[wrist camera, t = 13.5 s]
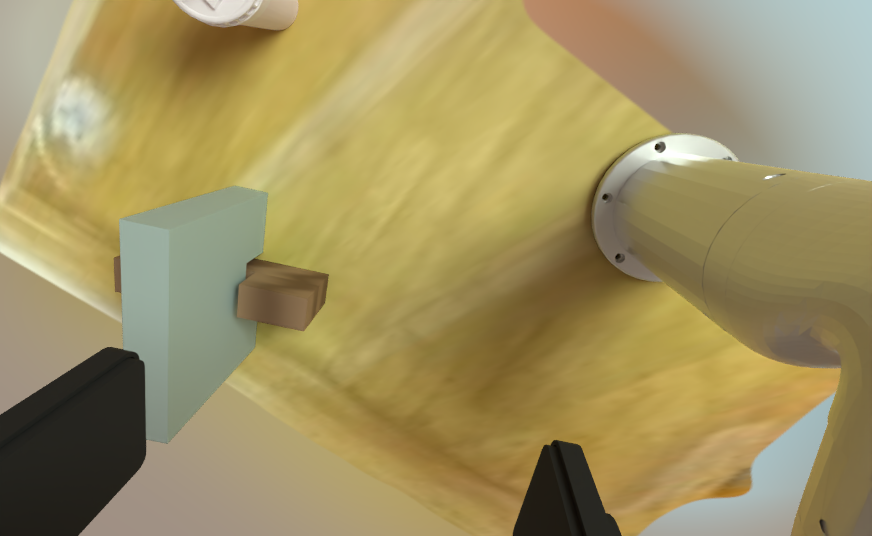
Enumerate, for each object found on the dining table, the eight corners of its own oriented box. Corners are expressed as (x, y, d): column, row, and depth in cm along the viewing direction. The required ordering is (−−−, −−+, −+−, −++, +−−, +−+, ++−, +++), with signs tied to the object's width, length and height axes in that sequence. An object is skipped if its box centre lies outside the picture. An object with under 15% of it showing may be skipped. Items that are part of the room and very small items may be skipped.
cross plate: (234, 185, 39) (119, 219, 26) (267, 192, 39) (169, 229, 26) (225, 341, 44) (125, 435, 31) (254, 347, 44) (167, 443, 31)
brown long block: (328, 274, 41) (307, 298, 36) (324, 302, 42) (303, 331, 37) (161, 238, 41) (113, 257, 35) (161, 268, 42) (115, 291, 36)
